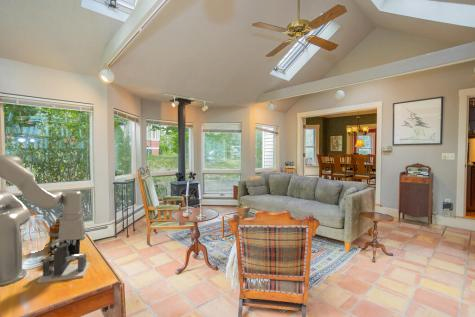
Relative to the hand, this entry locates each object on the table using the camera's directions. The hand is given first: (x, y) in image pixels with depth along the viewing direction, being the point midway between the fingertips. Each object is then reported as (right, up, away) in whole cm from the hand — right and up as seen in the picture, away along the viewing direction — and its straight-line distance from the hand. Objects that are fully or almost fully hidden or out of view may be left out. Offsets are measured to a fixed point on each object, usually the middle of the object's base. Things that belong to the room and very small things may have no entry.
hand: (72, 252), depth 117 cm
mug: (-30, -8, +30) cm, 43 cm away
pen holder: (-11, -9, +13) cm, 19 cm away
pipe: (-2, -10, -2) cm, 10 cm away
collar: (-3, -8, -2) cm, 9 cm away
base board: (-2, -10, -2) cm, 10 cm away
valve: (-23, -8, +19) cm, 31 cm away
